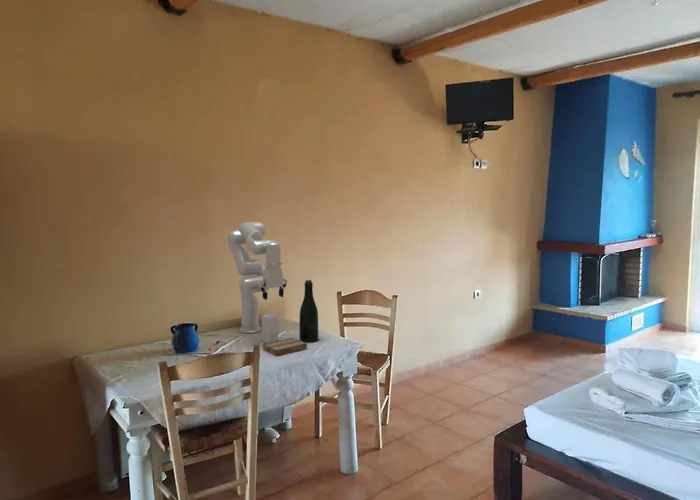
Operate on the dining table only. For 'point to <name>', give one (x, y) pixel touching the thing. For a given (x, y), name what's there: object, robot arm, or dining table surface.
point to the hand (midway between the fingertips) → (273, 297)
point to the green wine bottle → (308, 316)
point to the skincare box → (269, 328)
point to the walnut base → (285, 346)
